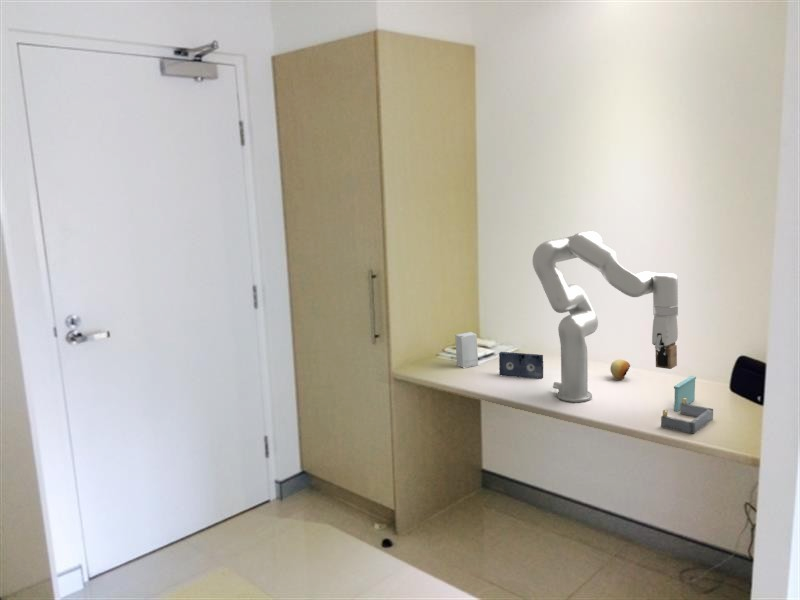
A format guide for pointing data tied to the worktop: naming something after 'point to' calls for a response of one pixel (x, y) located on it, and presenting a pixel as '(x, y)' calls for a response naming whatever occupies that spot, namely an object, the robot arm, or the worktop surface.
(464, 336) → the skincare box
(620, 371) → the fruit
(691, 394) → the flat teal rectangular block
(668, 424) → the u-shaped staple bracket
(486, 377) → the worktop surface
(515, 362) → the vhs cassette tape
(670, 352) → the block
